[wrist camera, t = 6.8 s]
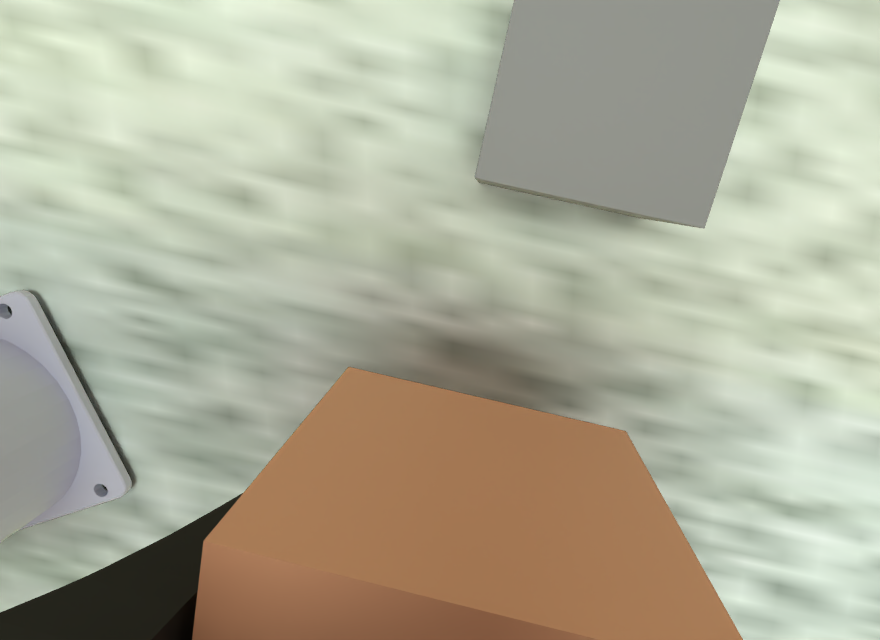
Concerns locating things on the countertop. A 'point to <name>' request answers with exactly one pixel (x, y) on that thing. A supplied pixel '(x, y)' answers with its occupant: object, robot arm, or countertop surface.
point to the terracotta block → (451, 530)
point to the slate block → (623, 102)
